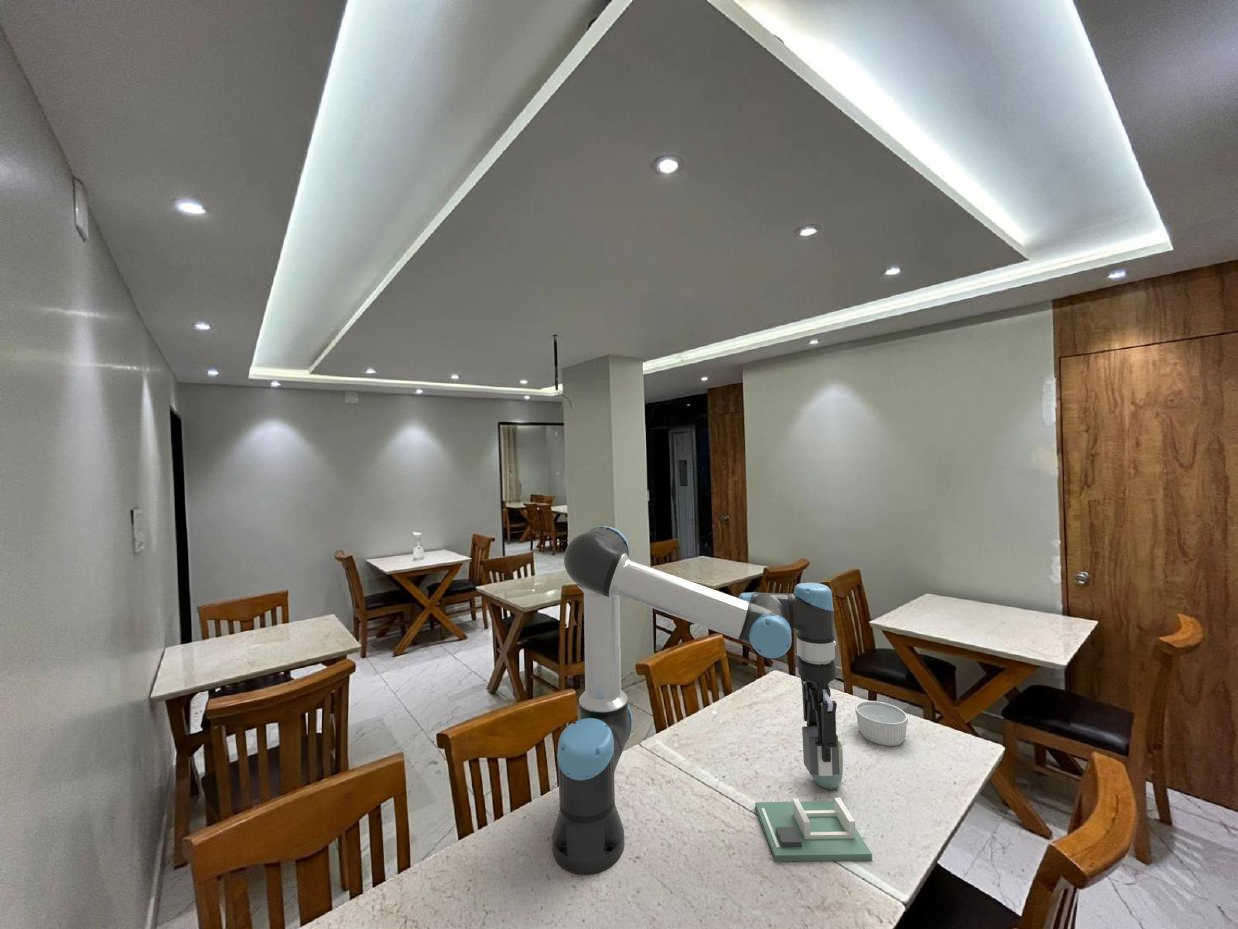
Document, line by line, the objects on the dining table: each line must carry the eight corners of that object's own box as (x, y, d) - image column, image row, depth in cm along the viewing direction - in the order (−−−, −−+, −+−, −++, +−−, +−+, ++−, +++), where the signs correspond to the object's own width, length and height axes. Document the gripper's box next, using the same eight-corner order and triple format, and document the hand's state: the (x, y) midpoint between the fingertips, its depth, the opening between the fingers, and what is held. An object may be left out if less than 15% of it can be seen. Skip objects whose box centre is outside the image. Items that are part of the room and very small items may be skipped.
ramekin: (860, 719, 146) (859, 696, 146) (910, 732, 138) (909, 707, 138) (852, 739, 135) (851, 715, 135) (906, 755, 127) (905, 729, 127)
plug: (810, 775, 100) (808, 737, 100) (803, 763, 104) (802, 726, 104) (842, 774, 100) (840, 735, 100) (834, 762, 104) (832, 725, 104)
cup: (847, 795, 112) (846, 753, 112) (812, 792, 114) (811, 750, 114) (839, 774, 120) (837, 734, 120) (806, 771, 122) (805, 732, 122)
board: (775, 861, 94) (774, 837, 94) (755, 807, 109) (754, 787, 109) (872, 860, 94) (871, 836, 94) (838, 806, 109) (837, 785, 109)
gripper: (852, 674, 93) (857, 794, 93) (818, 642, 110) (822, 744, 110) (814, 675, 93) (818, 795, 93) (785, 643, 111) (789, 744, 110)
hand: (820, 767), depth 102 cm, fingers closed on plug, 4 cm apart
